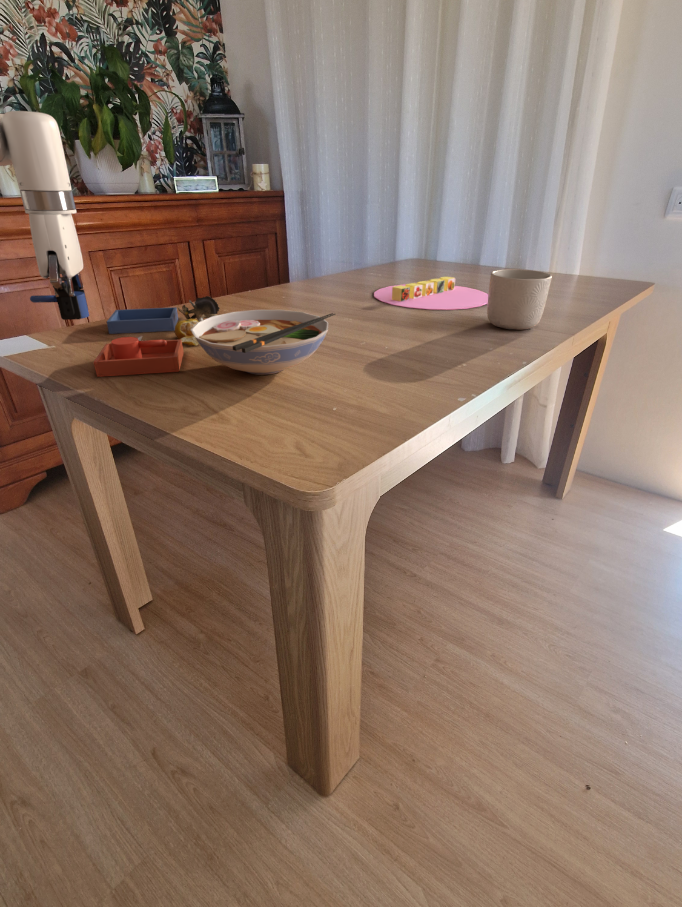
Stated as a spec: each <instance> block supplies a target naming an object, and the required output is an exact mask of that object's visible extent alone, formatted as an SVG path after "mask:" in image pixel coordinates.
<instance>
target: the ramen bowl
mask: <svg viewBox="0 0 682 907" xmlns="http://www.w3.org/2000/svg"><path fill="white" fill-rule="evenodd" d="M333 316H336V313H333V312H332V313H329V314H326V315H323V316H319V315H316V314H312V313H308V312H305V311H297V310H288V309H250V310H239V311H230V312H227V313H222V314H216V316H212V317H210V318H204V319H203V320H202V321H200V322H197V324H196V325H195V326H194V327H193V328H192V329H191V331H192V333H193V335H194V336H195V338H196V340H197V341H198V343H199V344H198V345H200V347H201V348H202V349H203V351H204V352H205V353H206V354H207V355H208V357H210V358H211V359H213V360H214V361H215V362H217V363H218V364H220V365H223V366H225V367H228V368H230V369H232V370H236V371H240V372H245V373H248V374H250V375H251V374H252V375H256V376H260V375H261V376H266V375H274V374H277V373H280V372H282V371H285V370H286V369H290V368H292V367H295V366H298V365H299V364H301V363H303V362H305V361H306V360H307V359H308V358H310V357H311V356H312V355H314V353H315V352H316V351H317V350H318V349H319V347H320V346H321V344H322V343H323V341H324V340H325V337H326V335H327V333H328V331H329V325H330V324H329V321H327V320H326V319H328V318H330V317H333Z"/></svg>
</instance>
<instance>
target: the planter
mask: <svg viewBox="0 0 682 907" xmlns="http://www.w3.org/2000/svg"><path fill="white" fill-rule="evenodd" d="M552 278H553V276H552V274H550V273H548V272H544V271H540V270H533V269H522V268H521V269H519V268H515V269H514V268H507V269H506V268H504V269H496V270H493V271H491V272H490V277H489V285H488V293H487V294H488V303H487V304H486V306H487V307H486V308H487V309H486V314H487V319H488V322H490V323H491V325H493V326H495V327H497V328H501V329H505V330H512V331H513V330H515V331H521V330H522V331H523V330H528V329H533V328H534V327H536V326H537V325H538V324H539V323H540V321H541V319H542V318H543V314H544V311H545V307H546V303H547V299H548V297H549V296H548V295H549V291H550V287H551V282H552Z"/></svg>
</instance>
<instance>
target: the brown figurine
mask: <svg viewBox="0 0 682 907" xmlns="http://www.w3.org/2000/svg"><path fill="white" fill-rule="evenodd" d="M188 302H189V304H190V305H191V306H192V309H189V307H187V306H186V304H183V305H182V306H181V308H180V307H179V306H177V311H179V312H180V313H181V314H182V315H183V316H184V317H185V320H187V319H196V320H198V321H199V322H200V321H202V320H204V319H207V318H210V317H212V316H216V315H219V312H220V310H221V308H220V306H219V304H218V302H217V301H216V299H214V298H212V297H211V296H208V295H206V296H203V297H197V298H196V300H195V301H194V302H193V301H192V300H191V299H188ZM190 314H193V315H191V316H190Z"/></svg>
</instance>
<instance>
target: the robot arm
mask: <svg viewBox="0 0 682 907" xmlns="http://www.w3.org/2000/svg"><path fill="white" fill-rule="evenodd" d="M10 165H11V166H12V167H13V171H14V174H15V178H16V182H17V185H18V189H19V193H20V197H21V198H20V199H21V201H22V205H23V208H24V213H25V214H28V220H29V227H30V228H29V229H30V234H31V240H32V245H33V249H34V254H35V259H36V264H37V268H38V273H39V276H40V277H41V278H43V279H49V282H50V284H51V286H52V288H53V290H54V291H53V292H54V295H55V296H56V299H57V302H56V303H57V307H58V310H59V314H60V315H59V316H60V318H61V320H64V321H68V320H69V321H70V320H73V321H74V320H75V321H76V320H82V319H81V317H82V316H81V312H80V308H79V303H78V299H77V296H74V291H78V292H83V293H84V294H85V298H86V299H87V297H86V293H85V289H84V283H83V279H82V274H81V272H82V270H83V269H84V260H83V254H82V250H81V249H82V248H81V244H80V241H79V237H78V232H77V229H76V225H75V221H74V218H73V215H72V214H77V213H78V212H77V207H76V203H75V198H74V193H73V190H72V185H71V180H70V175H69V170H68V165H67V161H66V155H65V151H64V146H63V141H62V137H61V133H60V128H59V124H58V122H57V120H56V119H55V118H54V117H53V116H52V115H50V114H48V113H45V112H38V111H29V110H27V111H26V110H12V111H11V110H10V111H6V112H4V113H0V167H3V166H10ZM86 303H87V307H88V308H89V306H88V302H87V300H86Z"/></svg>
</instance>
